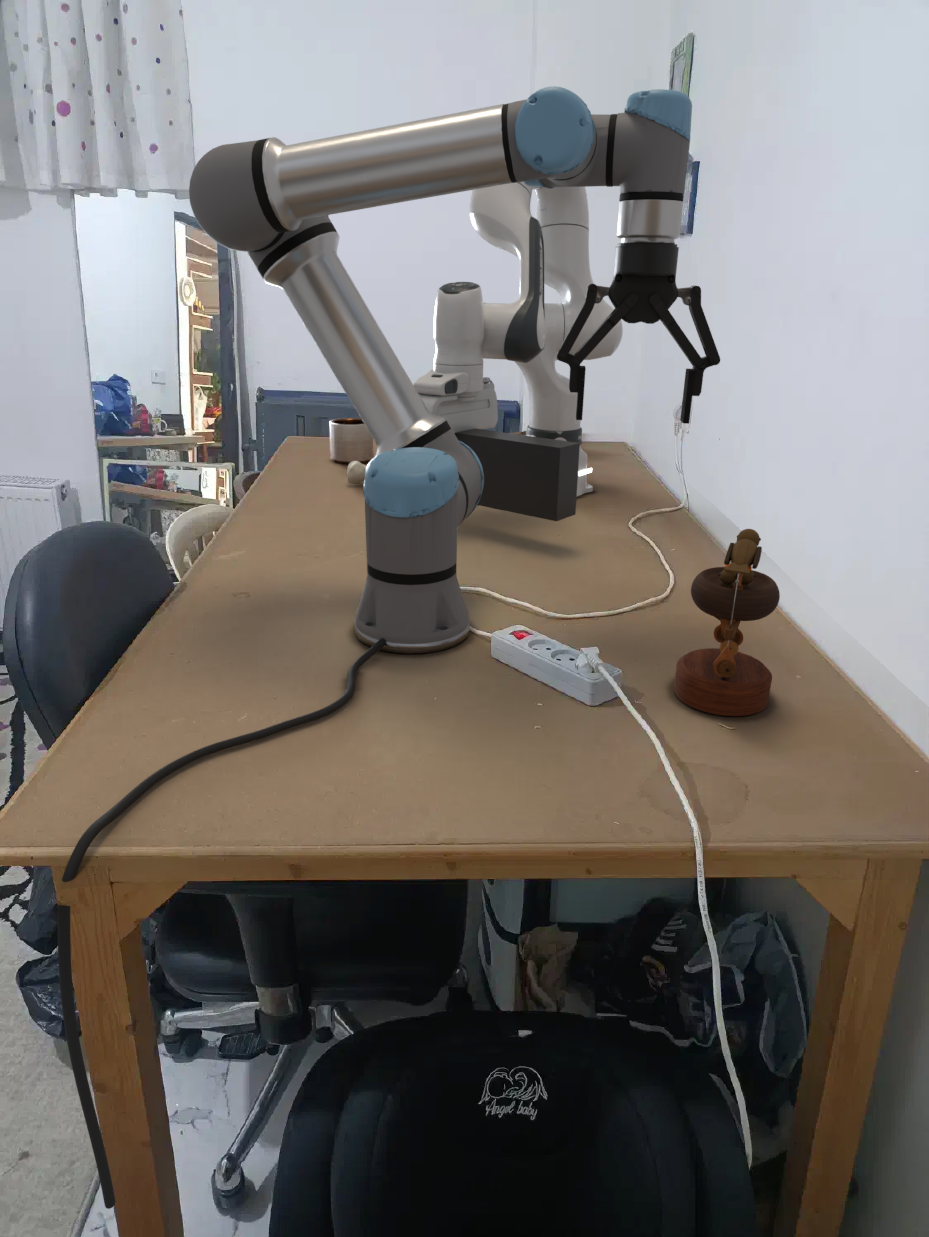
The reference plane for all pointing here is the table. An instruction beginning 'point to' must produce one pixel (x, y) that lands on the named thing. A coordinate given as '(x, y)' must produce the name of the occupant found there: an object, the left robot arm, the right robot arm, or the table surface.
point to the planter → (350, 441)
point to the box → (526, 473)
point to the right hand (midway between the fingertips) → (457, 458)
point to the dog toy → (356, 472)
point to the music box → (729, 635)
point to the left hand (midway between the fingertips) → (631, 420)
